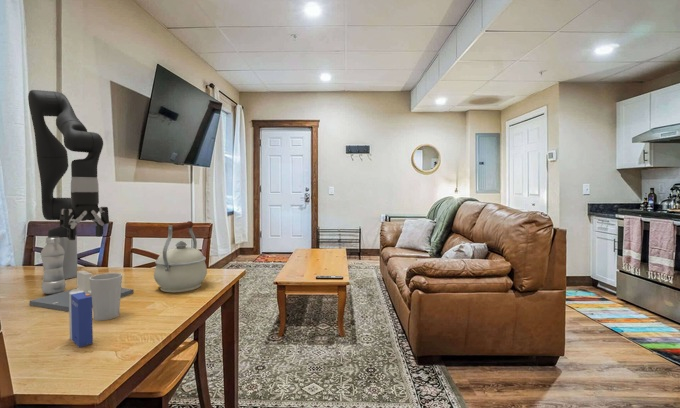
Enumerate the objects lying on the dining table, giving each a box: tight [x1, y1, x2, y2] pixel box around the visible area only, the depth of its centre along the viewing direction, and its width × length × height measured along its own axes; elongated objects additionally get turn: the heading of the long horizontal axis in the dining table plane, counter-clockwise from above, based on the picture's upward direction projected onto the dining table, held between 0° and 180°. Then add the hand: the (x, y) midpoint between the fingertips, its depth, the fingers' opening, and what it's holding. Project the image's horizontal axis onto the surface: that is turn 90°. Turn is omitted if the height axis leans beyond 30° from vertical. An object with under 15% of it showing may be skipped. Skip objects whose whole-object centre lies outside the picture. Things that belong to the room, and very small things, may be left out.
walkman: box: [68, 291, 94, 348], centre depth 83 cm, size 8×3×12 cm, turn 52°
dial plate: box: [29, 287, 135, 313], centre depth 114 cm, size 20×20×2 cm
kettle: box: [153, 220, 208, 294], centre depth 130 cm, size 25×18×25 cm
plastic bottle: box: [40, 236, 67, 295], centre depth 119 cm, size 6×7×20 cm
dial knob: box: [69, 270, 93, 296], centre depth 112 cm, size 12×8×8 cm, turn 55°
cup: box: [89, 272, 123, 321], centre depth 99 cm, size 8×8×12 cm
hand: (85, 238), depth 114 cm, fingers open, 8 cm apart
